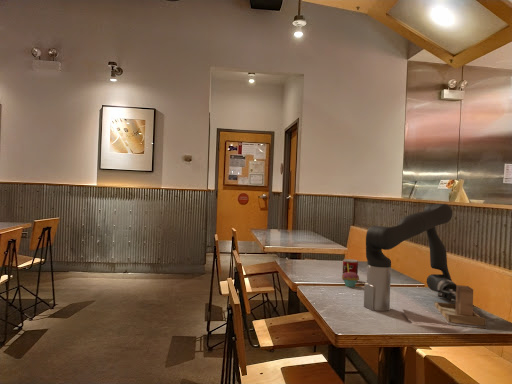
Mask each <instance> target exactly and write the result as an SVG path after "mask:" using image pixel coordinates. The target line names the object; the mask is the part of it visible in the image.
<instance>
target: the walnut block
mask: <svg viewBox="0 0 512 384" xmlns="http://www.w3.org/2000/svg"><path fill="white" fill-rule="evenodd" d="M455 304H456V311H455V315H463V316H473V311H474V309H473V308H474V289H473V288H472V287H470V286H469V285H460V284H456V301H455Z"/></svg>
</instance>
